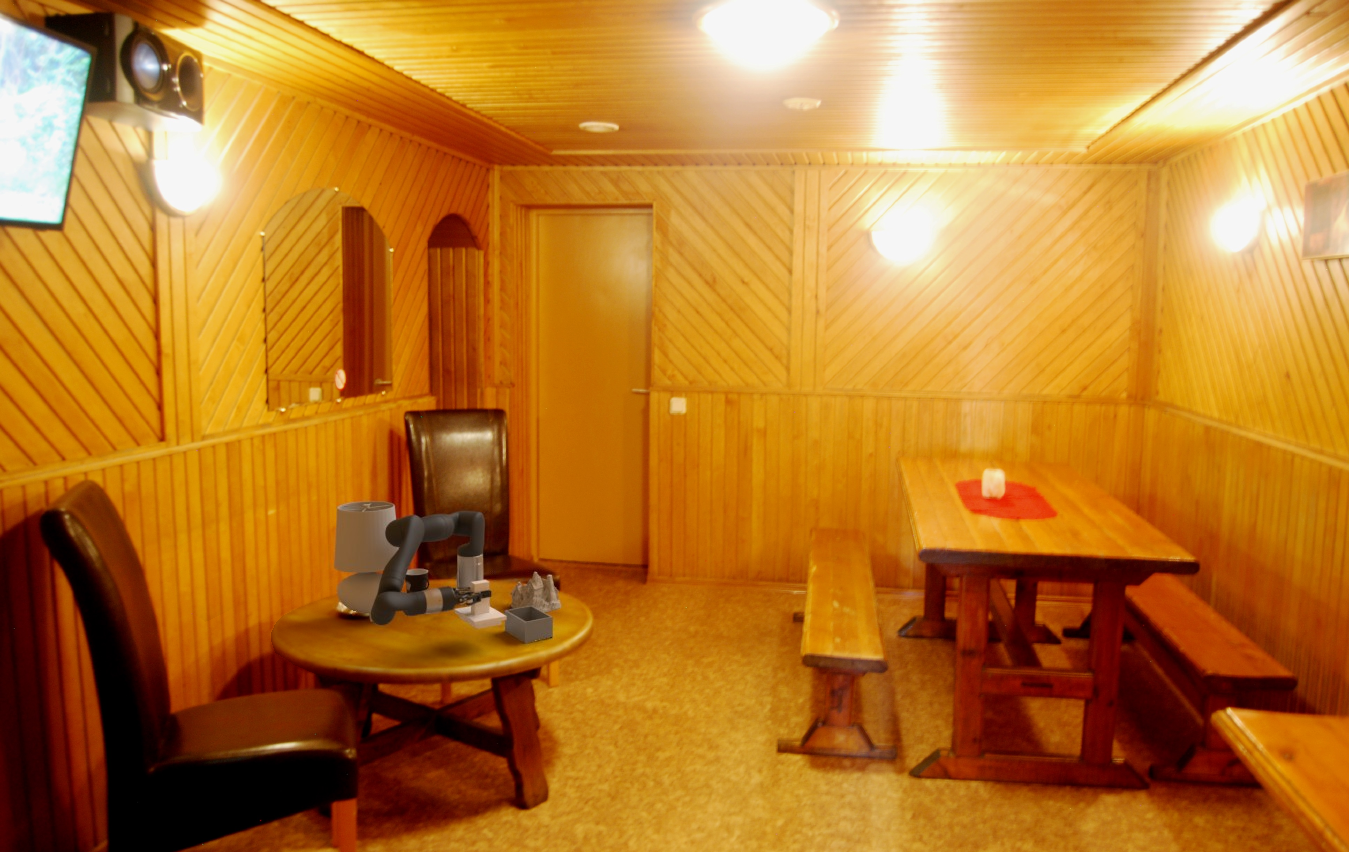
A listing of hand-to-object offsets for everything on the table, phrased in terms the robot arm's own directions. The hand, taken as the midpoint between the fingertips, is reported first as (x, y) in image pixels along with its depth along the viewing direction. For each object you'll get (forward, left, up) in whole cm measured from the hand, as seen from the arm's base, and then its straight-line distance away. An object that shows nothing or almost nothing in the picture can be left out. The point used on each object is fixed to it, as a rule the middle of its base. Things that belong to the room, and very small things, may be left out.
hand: (488, 592), depth 301 cm
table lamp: (-50, -16, -17) cm, 55 cm away
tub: (+2, +14, -17) cm, 22 cm away
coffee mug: (-58, +8, -17) cm, 60 cm away
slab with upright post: (0, -3, -9) cm, 10 cm away
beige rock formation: (-20, +34, -17) cm, 43 cm away
